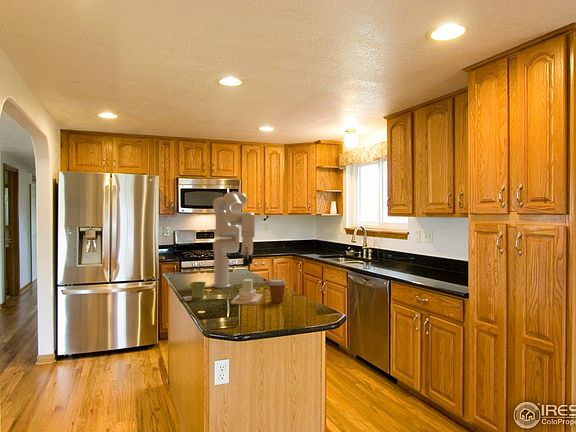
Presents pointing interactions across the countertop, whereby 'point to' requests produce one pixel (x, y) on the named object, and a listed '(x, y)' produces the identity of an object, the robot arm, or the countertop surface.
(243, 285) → the sage block
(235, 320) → the countertop surface
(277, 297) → the disposable coffee cup
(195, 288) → the plant pot
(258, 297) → the stack base
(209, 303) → the countertop surface
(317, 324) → the countertop surface
